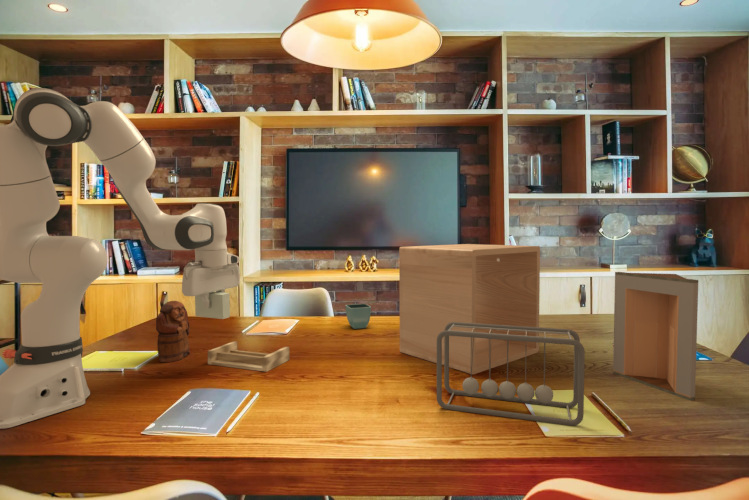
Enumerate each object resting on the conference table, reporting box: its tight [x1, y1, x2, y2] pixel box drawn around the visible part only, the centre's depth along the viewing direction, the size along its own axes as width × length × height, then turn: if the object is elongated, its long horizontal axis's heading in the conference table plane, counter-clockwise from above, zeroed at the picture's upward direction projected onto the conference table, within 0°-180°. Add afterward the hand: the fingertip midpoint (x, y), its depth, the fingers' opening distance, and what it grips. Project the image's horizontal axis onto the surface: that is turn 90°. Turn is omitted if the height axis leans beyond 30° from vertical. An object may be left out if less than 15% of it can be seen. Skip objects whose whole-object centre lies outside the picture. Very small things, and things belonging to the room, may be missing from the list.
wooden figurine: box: [155, 300, 191, 363], centre depth 139 cm, size 12×6×18 cm, turn 175°
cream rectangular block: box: [194, 291, 231, 320], centre depth 129 cm, size 3×10×7 cm, turn 69°
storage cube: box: [398, 243, 541, 376], centre depth 143 cm, size 34×29×34 cm
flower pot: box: [345, 303, 372, 330], centre depth 180 cm, size 9×9×9 cm
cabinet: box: [612, 271, 699, 401], centre depth 113 cm, size 21×10×28 cm, turn 21°
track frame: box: [207, 340, 290, 373], centre depth 134 cm, size 12×21×4 cm, turn 69°
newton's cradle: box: [436, 322, 586, 426], centre depth 99 cm, size 30×10×18 cm, turn 71°
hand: (213, 306), depth 129 cm, fingers closed on cream rectangular block, 3 cm apart
